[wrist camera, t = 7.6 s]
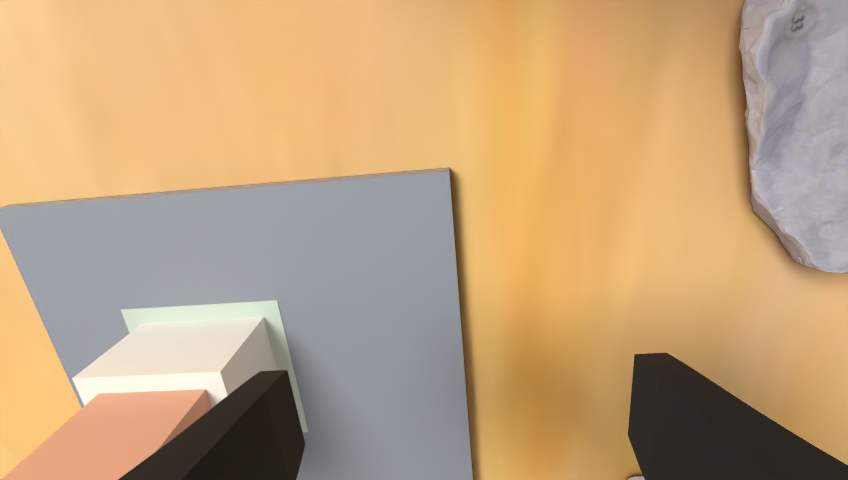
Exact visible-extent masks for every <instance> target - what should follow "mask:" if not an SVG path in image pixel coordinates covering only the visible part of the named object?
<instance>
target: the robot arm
mask: <svg viewBox="0 0 848 480" xmlns="http://www.w3.org/2000/svg"><path fill="white" fill-rule="evenodd" d="M628 436H629V439H630V442H631V444H632V447H633V450H634V453H635V455H636V458H637V461H638V463H639V466H640V469H641V471H642V474H643V476H636V477H631V478H629V479H628V480H848V465H846V464H844V463H843V462H841V461H839V460H837V459H836V458H834V457H832V456H830V455H829V454H827V453H825V452H824V451H822V450H820V449H818V448H817V447H815V446H813V445H812V444H810V443H808V442H807V441H805V440H803V439H802V438H800V437H798V436H797V435H795V434H794V433H792V432H790V431H789V430H787V429H785V428H784V427H782V426H781V425H779V424H777V423H776V422H774V421H773V420H771V419H769V418H768V417H766V416H765V415H763V414H761V413H760V412H758V411H757V410H755V409H754V408H752V407H750V406H749V405H747V404H746V403H744V402H743V401H741V400H740V399H738V398H737V397H735V396H733V395H732V394H730V393H729V392H727V391H726V390H724V389H723V388H721V387H720V386H718V385H717V384H715V383H714V382H712V381H710V380H709V379H707V378H706V377H704V376H703V375H701V374H700V373H698V372H697V371H695V370H694V369H692V368H691V367H689V366H687V365H686V364H684V363H683V362H681V361H679V360H678V359H676V358H674V357H673V356H671V355H669V354H668V353H653V354H635V357H634V369H633V381H632V393H631V405H630V417H629V429H628ZM304 448H305V440H304V436H303V432H302V428H301V424H300V420H299V416H298V411H297V407H296V403H295V399H294V395H293V391H292V387H291V383H290V379H289V374H288V370H275V371H260V372H258V373H257V374H256V375H254V376H253V377H251V378H250V379H248V380H247V381H246V382H245V383H243V384H242V385H241V386H239V387H238V388H237V389H235V390H234V391H233V392H232V393H230V394H229V395H228V396H227V397H225V398H224V399H223V400H222V401H220V402H219V403H218V404H216V405H215V406H214V407H213V408H211V409H210V410H209V411H208V412H206V413H205V414H204V415H203V416H201V417H200V418H199V419H198V420H196V421H195V422H194V423H192V424H191V425H190V426H189V427H187V428H186V429H185V430H184V431H182V432H181V433H180V434H178V435H177V436H176V437H175V438H173V439H172V440H171V441H169V442H168V443H167V444H165V445H164V446H163V447H161V448H160V449H159V450H157V451H156V452H155V453H153V454H152V455H151V456H149V457H148V458H147V459H145V460H144V461H142V462H141V463H140V464H138V465H137V466H136V467H134V468H133V469H132V470H130V471H129V472H128V473H126V474H125V475H123V476H122V477H121V478H119V479H118V480H296V479H297V475H298V472H299V468H300V464H301V460H302V456H303V452H304Z"/></svg>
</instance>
